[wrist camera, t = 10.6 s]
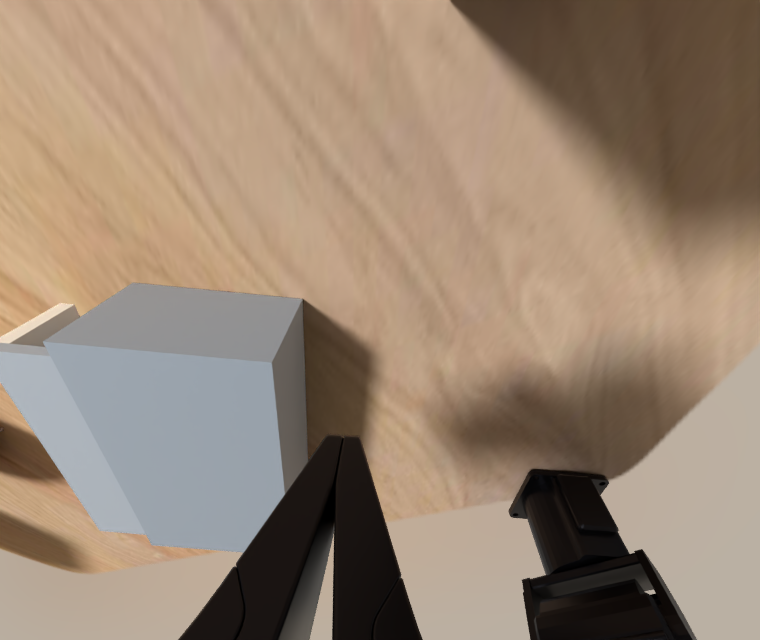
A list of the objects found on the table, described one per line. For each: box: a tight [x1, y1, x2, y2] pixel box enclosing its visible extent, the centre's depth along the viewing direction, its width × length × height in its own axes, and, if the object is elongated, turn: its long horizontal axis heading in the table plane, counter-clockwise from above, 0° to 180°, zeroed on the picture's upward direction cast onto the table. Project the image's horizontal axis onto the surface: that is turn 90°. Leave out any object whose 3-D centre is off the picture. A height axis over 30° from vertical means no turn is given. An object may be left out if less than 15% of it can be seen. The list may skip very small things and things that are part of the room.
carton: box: [43, 283, 308, 552], centre depth 22 cm, size 18×10×6 cm, turn 175°
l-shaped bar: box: [0, 303, 146, 535], centre depth 21 cm, size 16×3×4 cm, turn 175°
